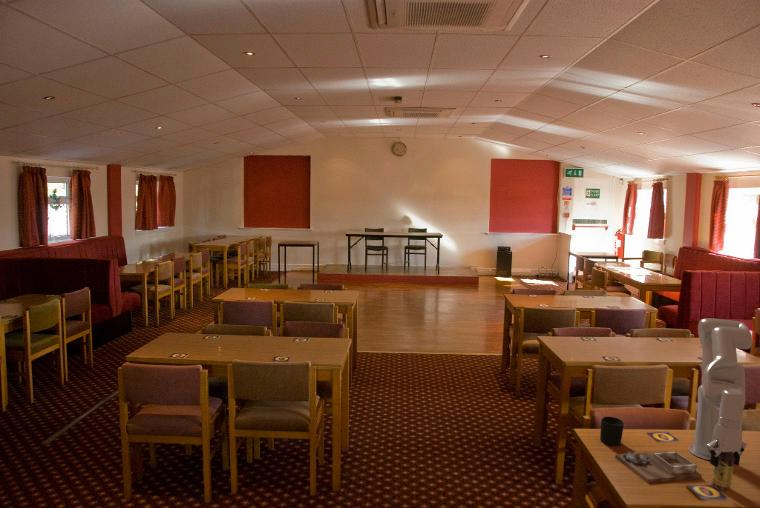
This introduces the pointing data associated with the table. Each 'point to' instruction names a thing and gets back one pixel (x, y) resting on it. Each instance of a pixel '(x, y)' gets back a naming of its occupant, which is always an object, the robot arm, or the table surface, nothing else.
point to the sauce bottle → (723, 471)
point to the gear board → (659, 466)
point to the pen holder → (611, 431)
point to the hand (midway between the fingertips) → (724, 464)
